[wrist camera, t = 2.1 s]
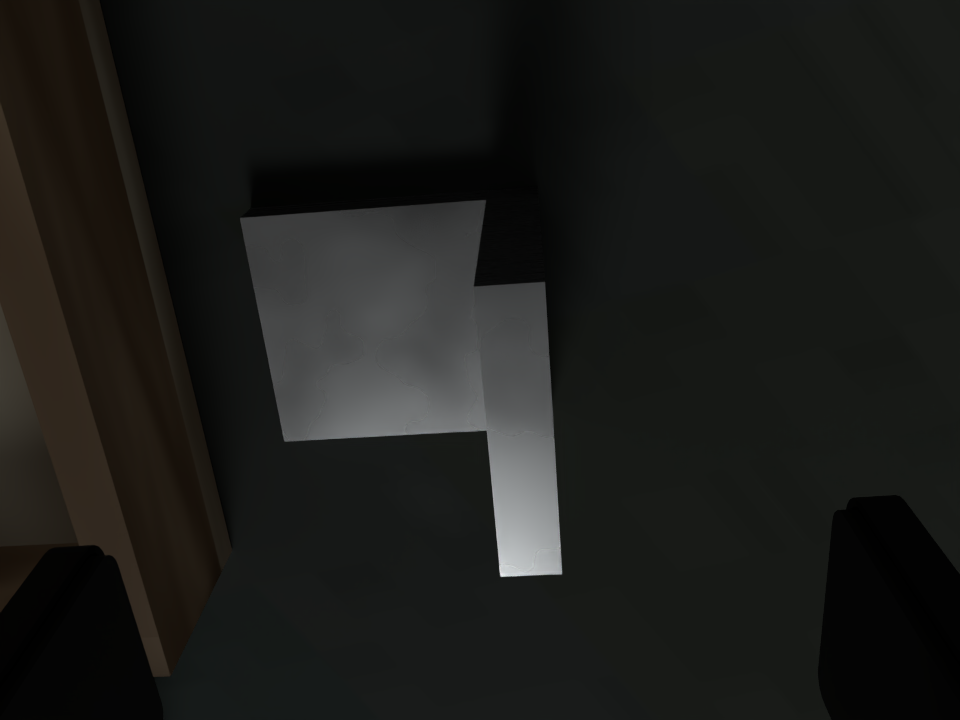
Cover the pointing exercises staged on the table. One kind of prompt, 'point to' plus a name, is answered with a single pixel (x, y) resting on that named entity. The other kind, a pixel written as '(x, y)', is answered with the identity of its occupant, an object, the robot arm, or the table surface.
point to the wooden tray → (93, 339)
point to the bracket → (418, 336)
